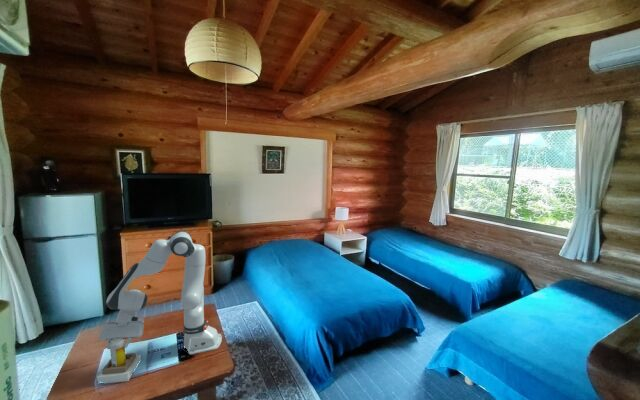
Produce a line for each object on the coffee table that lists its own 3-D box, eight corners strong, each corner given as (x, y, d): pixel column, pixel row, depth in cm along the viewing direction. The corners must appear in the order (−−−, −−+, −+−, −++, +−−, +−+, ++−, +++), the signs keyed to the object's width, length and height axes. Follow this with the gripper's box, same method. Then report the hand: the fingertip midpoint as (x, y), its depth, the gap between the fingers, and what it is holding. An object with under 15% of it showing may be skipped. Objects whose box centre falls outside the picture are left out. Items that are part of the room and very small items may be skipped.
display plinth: (141, 361, 154) (140, 350, 153) (128, 381, 140) (127, 369, 139) (113, 363, 151) (112, 353, 150) (97, 384, 138) (96, 372, 137)
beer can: (128, 361, 148) (126, 336, 146) (120, 370, 142) (118, 344, 140) (117, 361, 148) (115, 336, 145) (109, 370, 142) (106, 344, 139)
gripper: (101, 320, 147) (91, 349, 139) (143, 317, 150) (135, 345, 142) (107, 323, 152) (98, 350, 144) (147, 320, 155) (140, 347, 147)
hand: (117, 348), depth 143 cm, fingers closed on beer can, 6 cm apart
